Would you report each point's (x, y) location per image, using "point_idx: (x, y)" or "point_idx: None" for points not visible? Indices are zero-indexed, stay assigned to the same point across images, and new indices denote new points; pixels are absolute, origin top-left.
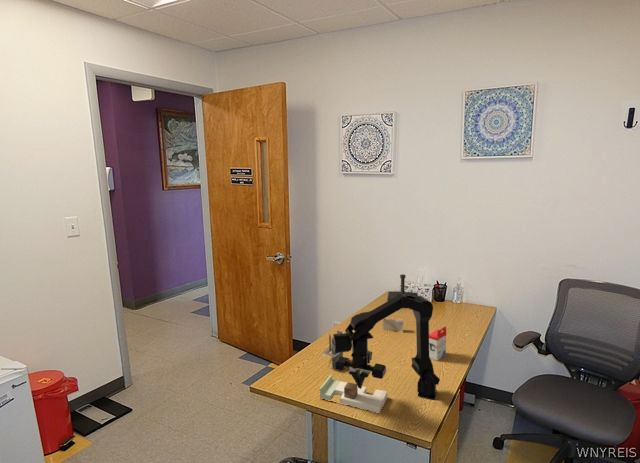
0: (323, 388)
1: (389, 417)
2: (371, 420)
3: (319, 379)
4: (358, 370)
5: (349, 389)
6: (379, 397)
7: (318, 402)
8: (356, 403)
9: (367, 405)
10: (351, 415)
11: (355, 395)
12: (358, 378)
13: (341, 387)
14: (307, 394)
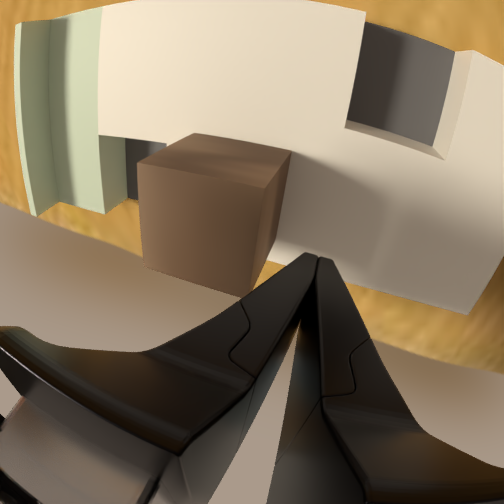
0: (44, 171)
1: (501, 306)
2: (401, 334)
3: (24, 12)
4: (194, 498)
5: (200, 279)
6: (498, 194)
7: (87, 213)
8: None
9: (388, 289)
10: None
11: (277, 216)
12: (256, 409)
13: (128, 86)
14: None
